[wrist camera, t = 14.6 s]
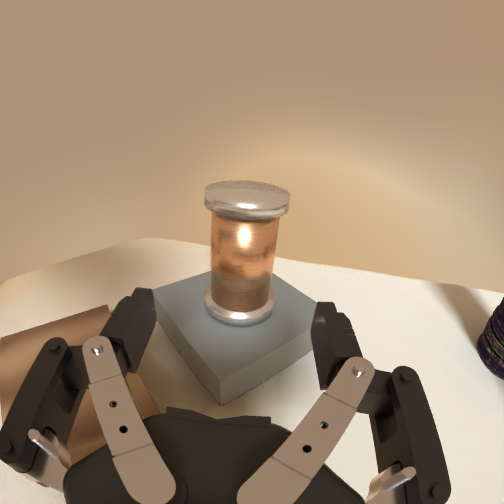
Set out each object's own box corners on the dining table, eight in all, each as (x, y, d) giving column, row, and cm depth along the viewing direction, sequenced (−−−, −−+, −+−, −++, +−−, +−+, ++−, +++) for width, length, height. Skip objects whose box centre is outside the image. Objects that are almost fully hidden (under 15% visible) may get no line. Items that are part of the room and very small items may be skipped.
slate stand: (156, 319, 28) (151, 290, 27) (248, 284, 36) (250, 258, 34) (221, 406, 20) (220, 380, 18) (323, 341, 27) (332, 313, 25)
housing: (192, 297, 26) (189, 185, 21) (245, 278, 30) (253, 178, 25) (231, 337, 22) (238, 208, 17) (287, 309, 26) (307, 197, 21)
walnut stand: (17, 364, 18) (0, 337, 16) (115, 333, 26) (106, 304, 24) (36, 474, 9) (8, 455, 7) (168, 431, 17) (158, 409, 15)
